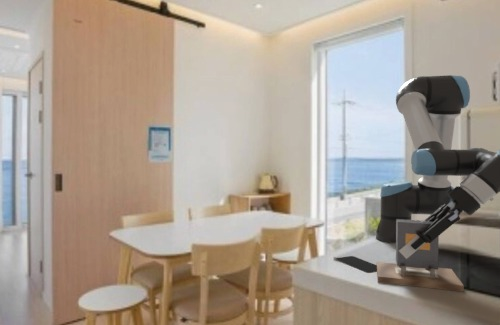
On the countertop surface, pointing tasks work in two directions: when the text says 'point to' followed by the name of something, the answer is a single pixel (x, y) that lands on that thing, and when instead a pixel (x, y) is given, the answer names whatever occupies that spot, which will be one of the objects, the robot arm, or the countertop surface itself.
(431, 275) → the dock
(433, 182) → the robot arm
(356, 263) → the smartphone
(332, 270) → the countertop surface
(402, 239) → the block
